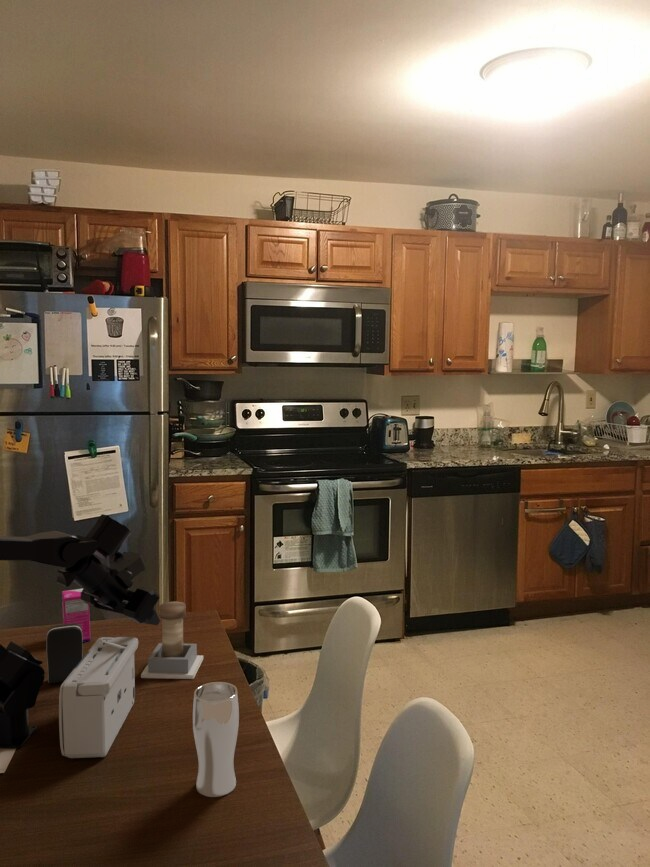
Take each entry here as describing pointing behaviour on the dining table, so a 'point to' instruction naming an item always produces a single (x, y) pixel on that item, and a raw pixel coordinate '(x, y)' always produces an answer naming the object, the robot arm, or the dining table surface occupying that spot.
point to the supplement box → (76, 611)
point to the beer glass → (215, 737)
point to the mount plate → (173, 664)
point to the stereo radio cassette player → (97, 698)
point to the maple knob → (172, 628)
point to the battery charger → (63, 651)
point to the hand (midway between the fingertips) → (143, 617)
